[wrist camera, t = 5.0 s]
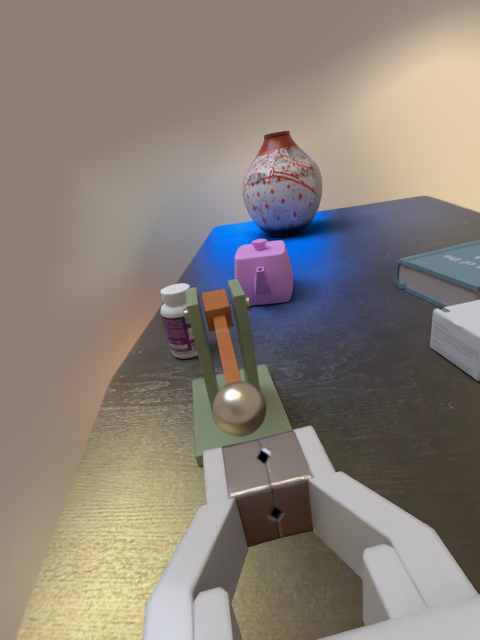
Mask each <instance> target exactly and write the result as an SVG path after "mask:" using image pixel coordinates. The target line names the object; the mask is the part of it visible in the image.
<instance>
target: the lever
mask: <svg viewBox="0 0 480 640" xmlns="http://www.w3.org/2000/svg"><path fill="white" fill-rule="evenodd" d="M202 298H203V304H204V309H205V314H206V319H207V323H208V327H209V331H216V336H217V341H218V346H219V351H220V356H221V361H222V366H223V371H224V376H225V381H226V385H225V386H223V387H222V388H221V389H220V390H219V391H218V393H217V394H216V396H215V398H214V401H213V409H212V410H213V416H214V419H215V422H216V423H217V425H218V426H219V428H220V429H221V430H223V431H224V432H225V433H227V434H229V435H232V436H237V437H242V436H247V435H250V434H252V433H253V432H255V431H256V430H257V429H258V428H259V427H260V426H261V425H262V423H263V421H264V419H265V415H266V403H265V399H264V397H263V395H262V393H261V392H260V390H259V389H258V388H257V387H255V386H254V385H252V384H250V383H248V382H244V381H241V377H240V373H239V369H238V365H237V361H236V357H235V353H234V349H233V345H232V341H231V337H230V333H229V329H228V328H229V327H233V322H232V316H231V310H230V305H229V301H228V297H227V294H226V290H225V289H220V290H215V291H210V292H205V293H202Z"/></svg>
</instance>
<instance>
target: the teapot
mask: <svg viewBox="0 0 480 640" xmlns="http://www.w3.org/2000/svg"><path fill="white" fill-rule="evenodd" d="M235 279H238V281H239V283H240V285H241V287H242V289H243V291H244V294H245V296H248V297H249V300H250V305H251V306H253V305H263V304H273V303H281V302H288V301H290V299H291V296H292V291H293V275H292V269H291V264H290V260H289V257H288V253H287V250H286V247H285V244H284V242H283V241H282V240H278V241H270V242H267V240H266V239H256V240H254V241H252V244H247V245H242V246H240V247H239V249H238V250H237V252H236V256H235Z"/></svg>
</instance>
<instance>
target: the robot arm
mask: <svg viewBox="0 0 480 640" xmlns="http://www.w3.org/2000/svg"><path fill="white" fill-rule="evenodd" d="M203 465H204V480H205V495H206V505H203V506H200V508H199V509H198V511H197V513H196V515H195V517H194V518H193V520H192V522H191V524H190V526H189V527H188V529H187V531H186V533H185V535H184V536H183V538H182V540H181V542H180V543H179V545H178V547H177V549H176V551H175V552H174V554H173V556H172V558H171V560H170V561H169V563H168V565H167V567H166V569H165V570H164V572H163V574H162V576H161V578H160V579H159V581H158V583H157V585H156V587H155V588H154V590H153V592H152V594H151V595H150V597H149V599H148V601H147V603H146V607H145V618H144V629H143V640H242V637H241V634H240V630H239V627H238V624H237V621H236V617H235V614H234V611H233V608H232V604H231V602H232V599H233V596H234V593H235V589H236V586H237V583H238V580H239V577H240V574H241V571H242V567H243V564H244V561H245V558H246V555H247V552H248V547H251V546H254V545H257V544H261V543H264V542H268V541H271V540H275V539H278V538H282V537H287V536H291V535H295V534H300V533H304V532H309V531H313V530H314V533H315V534H316V535H317V536H318V537H319V538H320V539H321V540H322V541H323V542H324V543H325V544H326V545H327V546H328V547H330V548H331V549H332V550H333V551H334V552H335V553H336V554H337V555H338V556H339V557H340V558H341V559H342V560H343V561H344V562H345V563H346V564H347V565H348V566H349V567H350V568H351V569H352V570H353V571H354V572H355V573H356V574H357V575H358V576H359V577H361V578H362V579H363V621H364V624H365V626H364V627H361V628H357V629H353V630H350V631H346V632H343V633H339V634H335V635H332V636H328V637H325V638H321V639H318V640H480V594H479V595H478V593H477V592H476V590H475V589H474V587H473V586H472V584H471V583H470V581H469V580H468V579H467V577H466V576H465V574H464V573H463V571H462V570H461V568H460V567H459V565H458V564H457V563H456V561H455V560H454V558H453V557H452V555H451V554H450V552H449V551H448V549H447V548H446V547H445V545H444V544H443V542H442V541H441V539H440V538H439V536H438V535H437V533H436V532H435V531H434V529H433V528H431V527H429V526H428V525H426V524H425V523H423V522H421V521H420V520H418V519H417V518H415V517H413V516H412V515H410V514H409V513H407V512H405V511H404V510H402V509H401V508H399V507H397V506H396V505H394V504H393V503H391V502H389V501H388V500H386V499H385V498H383V497H382V496H380V495H378V494H377V493H375V492H374V491H372V490H370V489H369V488H367V487H366V486H364V485H362V484H361V483H359V482H358V481H356V480H354V479H353V478H351V477H350V476H348V475H346V474H345V473H343V472H342V471H341V472H335V470H334V468H333V466H332V464H331V462H330V460H329V458H328V456H327V454H326V452H325V450H324V448H323V446H322V444H321V442H320V440H319V438H318V436H317V434H316V432H315V430H314V428H313V427H312V426H307V427H303V428H299V429H295V430H293V431H292V430H291V431H287V432H283V433H279V434H275V435H271V436H267V437H263V438H259V439H255V440H250V441H246V442H241V443H236V444H231V445H227V446H222V447H219V448H214V449H210V450H205V451H204V452H203Z"/></svg>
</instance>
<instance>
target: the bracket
mask: <svg viewBox="0 0 480 640" xmlns="http://www.w3.org/2000/svg"><path fill="white" fill-rule="evenodd" d="M228 287H229V293H230V298H231V304H232V309H233V315H234V320H235V326H236V331H237V337H238V342H239V348H240V353H241V359H242V364H243V369H242V370H239V373H240V377H241V381H244V382H248V383H250V384H252V385H254V386H255V387H257V388H258V389H259V390H260V392H261V393H262V395H263V397H264V399H265V403H266V415H265V419H264V421H263V423H262V425H261V426H260V427H259V428H258V429H257V430H256V431H255V432H253V433H252V434H250V435H247V436H242V437H237V436H232V435H229V434H227V433H225V432H224V431H223V430H221V429H220V428H219V426H218V425H217V423H216V422H215V419H214V416H213V410H212V409H213V401H214V398H215V396H216V394H217V393H218V391H219V390H220V389H221V388H222V387H223V386H225V385H226V381H225V376H224V373H223V374H219V375H216V373H215V369H214V364H213V360H212V355H211V351H210V346H209V342H208V338H207V333H206V329H205V324H204V320H203V315H202V311H201V306H200V302H199V297H198V293H197V288H196V287H194V288H189V289H186V307H187V308H185V309H183V312H184V318H185V321H186V324H189V323H190V324H191V328H192V332H193V336H194V340H195V344H196V349H197V353H198V357H199V361H200V365H201V369H202V373H203V377H204V378H200V379H196V380H192V383H193V405H194V427H195V450H196V459H197V463H198V466H202V465H203V452H204V451H205V450H210V449H214V448H219V447H222V446H227V445H231V444H236V443H241V442H246V441H250V440H255V439H259V438H263V437H267V436H271V435H275V434H279V433H283V432H287V431H291V430H292V431H293V429H292V427H291V424H290V422H289V420H288V417H287V415H286V412H285V410H284V408H283V405H282V403H281V400H280V398H279V395H278V393H277V391H276V388H275V386H274V383H273V381H272V379H271V376H270V374H269V371H268V369H267V366H266V364H265V365H260V366H256V360H255V353H254V347H253V341H252V335H251V328H250V322H249V316H248V311H251V305H250V300H249V297H248V296H245V294H244V291H243V289H242V287H241V285H240V283H239V281H238V279H234V280H229V281H228Z"/></svg>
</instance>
